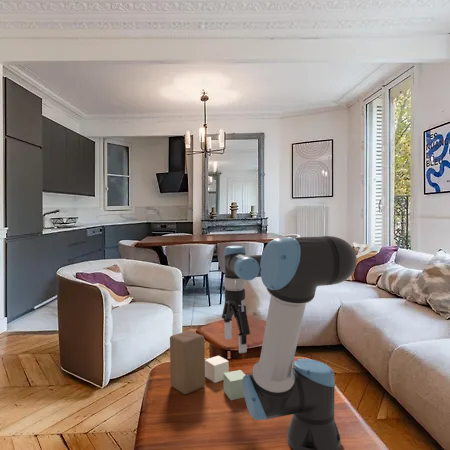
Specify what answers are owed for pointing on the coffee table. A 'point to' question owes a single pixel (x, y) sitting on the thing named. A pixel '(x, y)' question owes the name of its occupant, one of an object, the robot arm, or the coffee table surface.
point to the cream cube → (216, 368)
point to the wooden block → (187, 361)
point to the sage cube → (234, 384)
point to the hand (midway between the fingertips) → (235, 345)
